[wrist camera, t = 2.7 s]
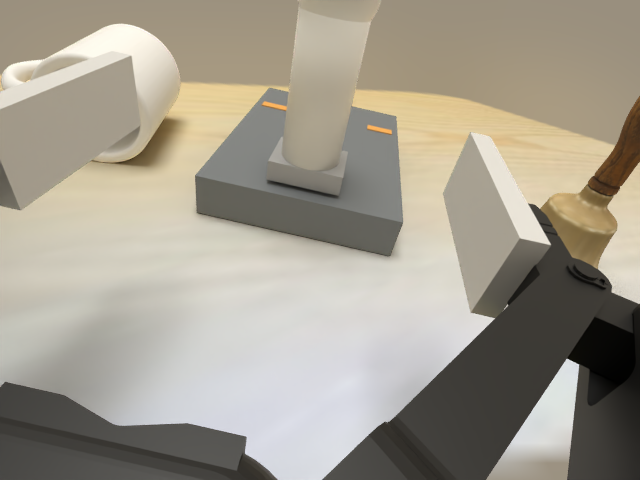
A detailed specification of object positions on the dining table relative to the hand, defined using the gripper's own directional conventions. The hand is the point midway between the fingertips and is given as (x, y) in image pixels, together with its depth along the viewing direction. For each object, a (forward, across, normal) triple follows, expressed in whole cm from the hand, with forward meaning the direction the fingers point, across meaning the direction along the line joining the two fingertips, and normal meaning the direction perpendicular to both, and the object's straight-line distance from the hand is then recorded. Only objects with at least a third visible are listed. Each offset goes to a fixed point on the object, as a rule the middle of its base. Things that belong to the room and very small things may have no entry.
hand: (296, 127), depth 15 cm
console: (+16, 0, -10) cm, 20 cm away
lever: (+10, 0, -7) cm, 12 cm away
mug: (+14, -19, -11) cm, 26 cm away
